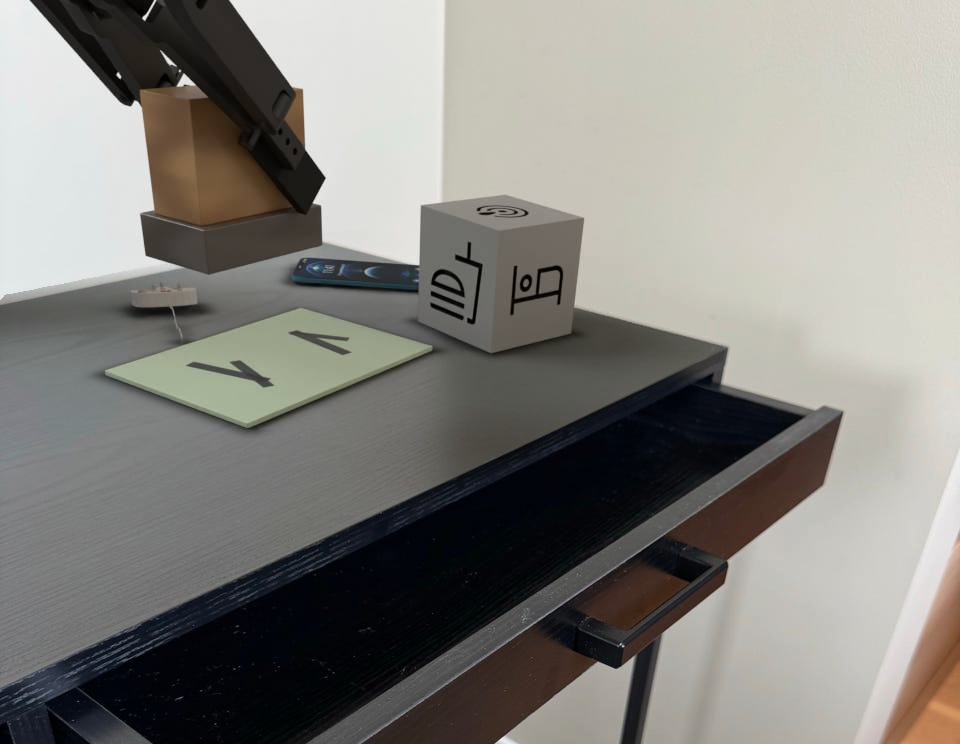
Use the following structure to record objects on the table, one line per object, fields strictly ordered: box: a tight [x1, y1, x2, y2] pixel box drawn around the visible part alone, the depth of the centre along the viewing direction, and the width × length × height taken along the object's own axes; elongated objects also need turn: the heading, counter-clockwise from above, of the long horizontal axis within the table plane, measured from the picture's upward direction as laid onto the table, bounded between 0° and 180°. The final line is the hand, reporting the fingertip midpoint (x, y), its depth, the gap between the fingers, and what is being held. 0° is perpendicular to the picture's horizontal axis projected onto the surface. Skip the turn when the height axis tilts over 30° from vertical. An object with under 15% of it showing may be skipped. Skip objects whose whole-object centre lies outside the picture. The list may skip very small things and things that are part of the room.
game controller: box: [129, 280, 199, 343], centre depth 85 cm, size 6×12×3 cm, turn 39°
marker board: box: [104, 307, 433, 429], centre depth 79 cm, size 15×22×1 cm
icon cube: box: [417, 194, 585, 354], centre depth 86 cm, size 10×10×10 cm
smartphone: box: [291, 257, 419, 291], centre depth 99 cm, size 8×1×15 cm
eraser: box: [139, 84, 323, 276], centre depth 59 cm, size 6×10×9 cm, turn 146°
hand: (274, 186), depth 62 cm, fingers closed on eraser, 5 cm apart
